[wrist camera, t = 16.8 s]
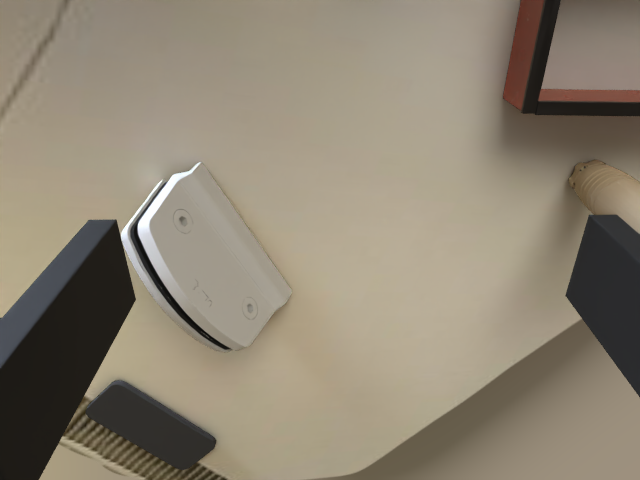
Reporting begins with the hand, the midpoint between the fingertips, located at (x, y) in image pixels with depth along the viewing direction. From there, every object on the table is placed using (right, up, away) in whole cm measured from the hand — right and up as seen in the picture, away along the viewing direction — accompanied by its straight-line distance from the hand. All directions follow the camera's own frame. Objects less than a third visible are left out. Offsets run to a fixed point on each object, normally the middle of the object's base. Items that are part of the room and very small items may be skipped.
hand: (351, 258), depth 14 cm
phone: (-21, -22, +46) cm, 55 cm away
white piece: (-11, 0, +34) cm, 36 cm away
